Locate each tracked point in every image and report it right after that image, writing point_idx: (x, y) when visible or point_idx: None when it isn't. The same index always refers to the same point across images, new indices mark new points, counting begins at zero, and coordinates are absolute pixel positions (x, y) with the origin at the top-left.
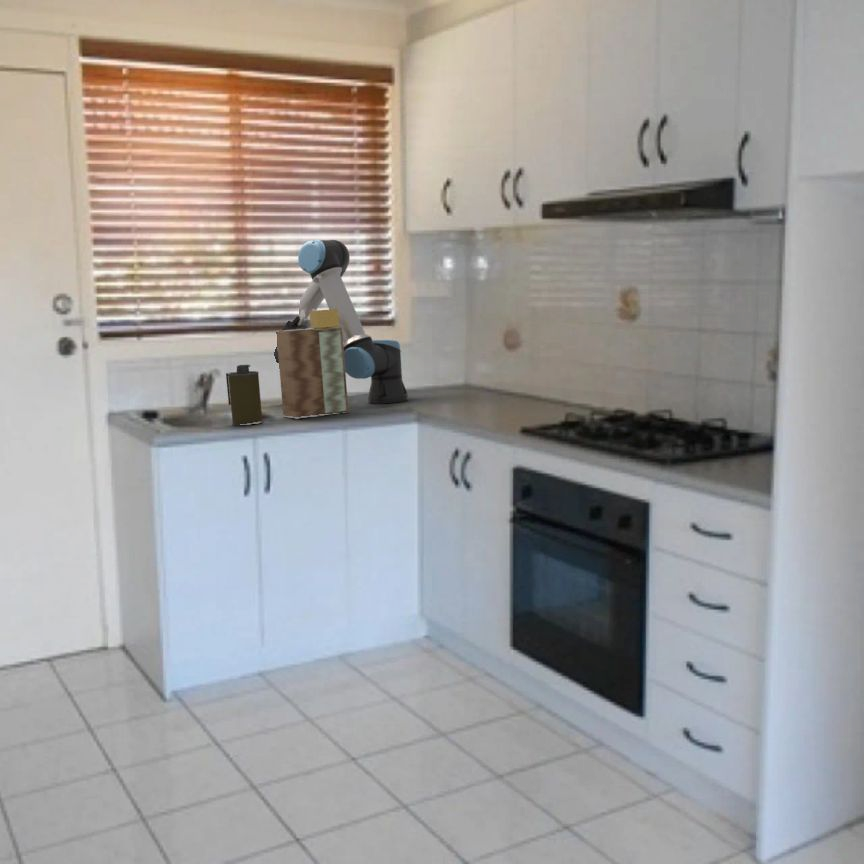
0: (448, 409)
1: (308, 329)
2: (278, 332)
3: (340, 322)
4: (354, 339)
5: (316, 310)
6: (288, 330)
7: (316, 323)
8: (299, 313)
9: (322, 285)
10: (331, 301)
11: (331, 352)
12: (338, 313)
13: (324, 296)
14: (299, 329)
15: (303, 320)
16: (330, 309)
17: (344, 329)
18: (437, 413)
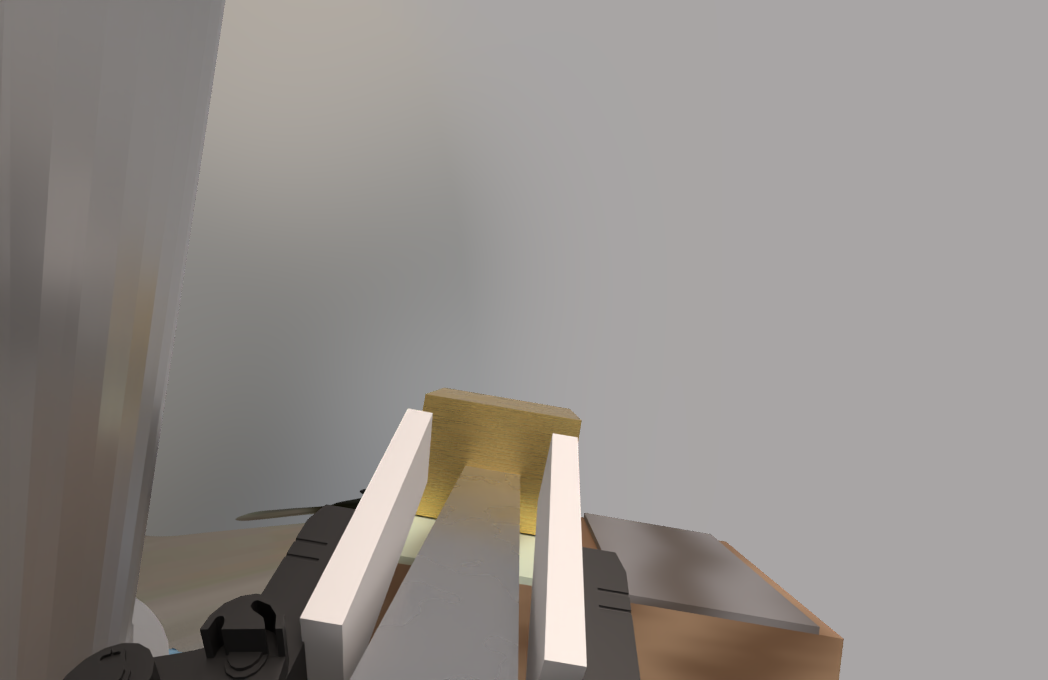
0: None
1: (608, 519)
2: (813, 620)
3: (145, 520)
4: (149, 618)
5: (560, 409)
6: (728, 568)
7: None
8: (579, 499)
9: (206, 33)
10: (178, 293)
11: None
12: (160, 428)
13: (125, 187)
14: (646, 557)
15: (518, 588)
16: (487, 395)
17: (138, 577)
18: None
